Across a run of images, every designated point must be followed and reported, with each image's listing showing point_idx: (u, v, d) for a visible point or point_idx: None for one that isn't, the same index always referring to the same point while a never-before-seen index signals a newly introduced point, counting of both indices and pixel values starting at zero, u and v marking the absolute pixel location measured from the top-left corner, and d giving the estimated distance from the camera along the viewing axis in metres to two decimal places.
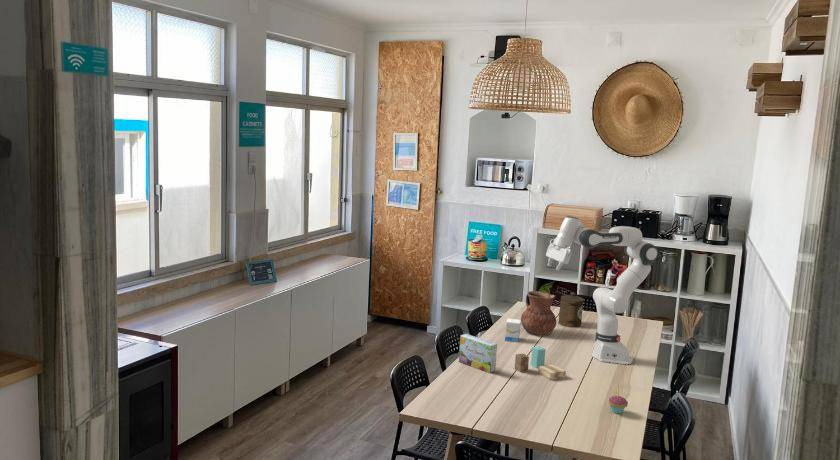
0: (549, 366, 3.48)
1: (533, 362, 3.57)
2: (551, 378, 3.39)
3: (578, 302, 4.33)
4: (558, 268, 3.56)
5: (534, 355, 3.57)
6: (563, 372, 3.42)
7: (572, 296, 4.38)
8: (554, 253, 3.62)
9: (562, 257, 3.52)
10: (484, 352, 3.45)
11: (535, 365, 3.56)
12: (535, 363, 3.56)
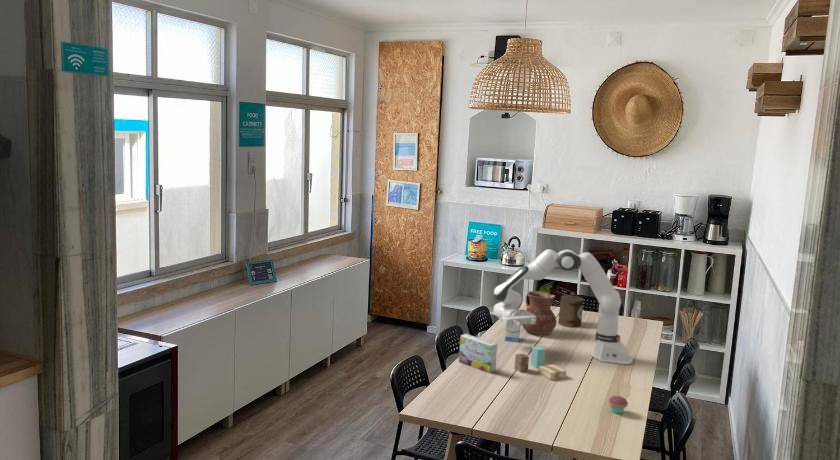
0: (549, 366, 3.48)
1: (533, 362, 3.57)
2: (551, 378, 3.39)
3: (578, 302, 4.33)
4: (517, 323, 3.65)
5: (534, 355, 3.57)
6: (563, 372, 3.42)
7: (572, 296, 4.38)
8: None
9: None
10: (484, 352, 3.45)
11: (535, 365, 3.56)
12: (535, 363, 3.56)
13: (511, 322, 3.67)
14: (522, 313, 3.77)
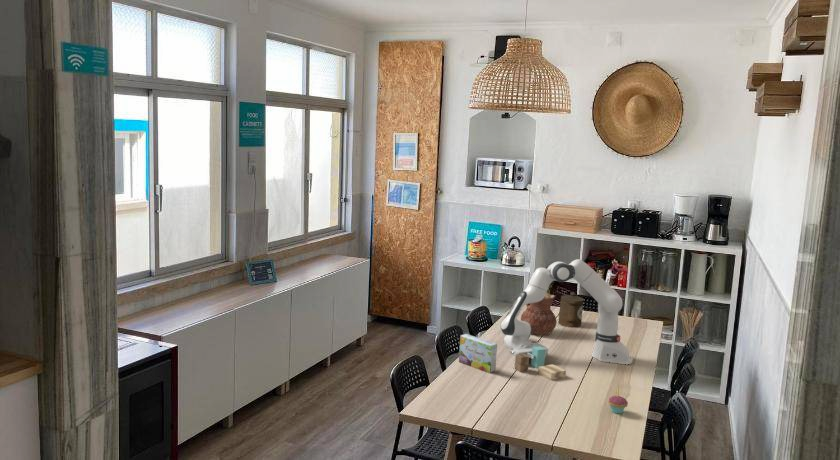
0: (549, 366, 3.48)
1: (533, 362, 3.57)
2: (552, 378, 3.39)
3: (578, 302, 4.33)
4: (532, 356, 3.56)
5: None
6: (563, 372, 3.43)
7: (572, 296, 4.38)
8: None
9: None
10: (484, 352, 3.45)
11: (535, 365, 3.56)
12: (535, 363, 3.56)
13: None
14: (534, 345, 3.68)
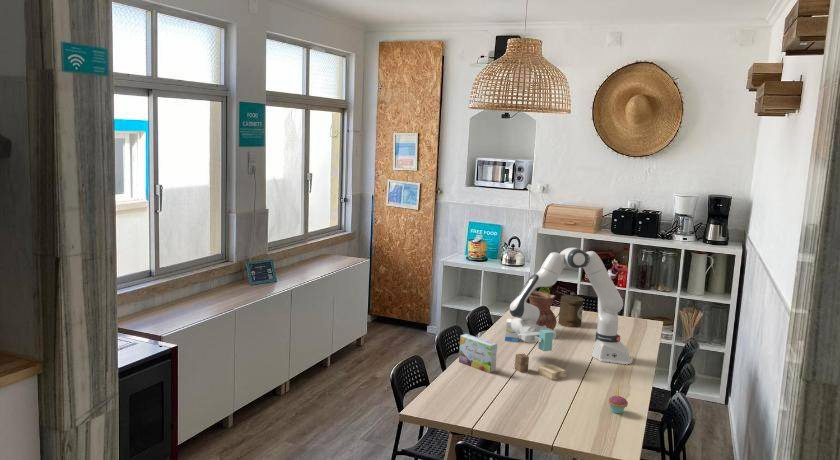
0: (548, 366, 3.48)
1: (541, 345, 3.50)
2: (553, 378, 3.39)
3: (578, 302, 4.33)
4: (539, 340, 3.49)
5: None
6: (563, 372, 3.43)
7: (572, 296, 4.38)
8: None
9: None
10: (484, 352, 3.45)
11: (542, 348, 3.49)
12: (542, 346, 3.49)
13: (530, 338, 3.51)
14: (541, 328, 3.61)
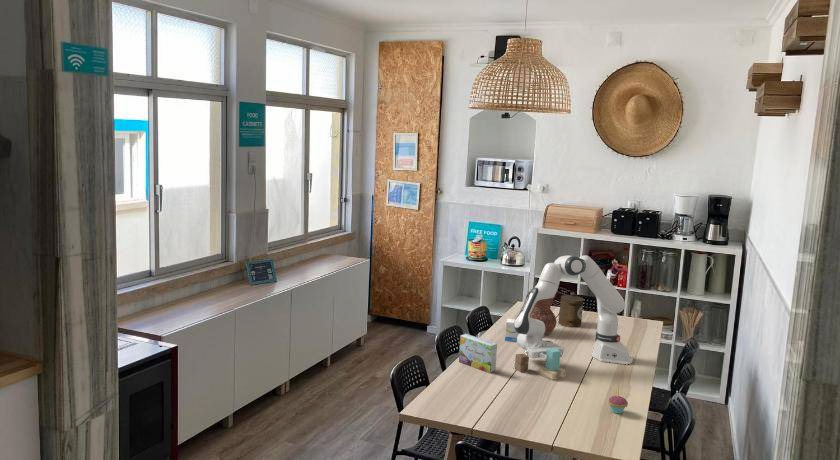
0: None
1: (548, 365, 3.44)
2: (553, 378, 3.39)
3: (578, 302, 4.33)
4: (545, 357, 3.42)
5: (548, 358, 3.43)
6: (563, 372, 3.43)
7: (572, 296, 4.38)
8: None
9: None
10: (484, 352, 3.45)
11: (550, 368, 3.43)
12: (550, 366, 3.43)
13: (537, 355, 3.44)
14: (548, 344, 3.54)
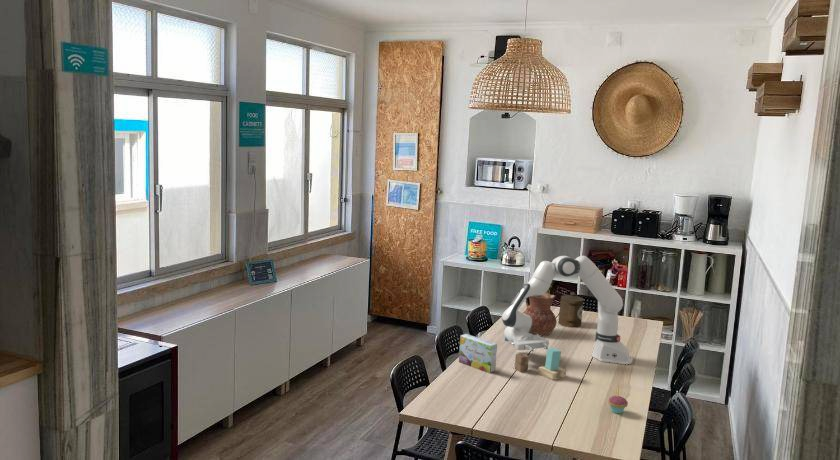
0: None
1: (547, 364, 3.44)
2: (553, 378, 3.39)
3: (578, 302, 4.33)
4: (530, 349, 3.53)
5: (548, 357, 3.44)
6: (564, 372, 3.43)
7: (572, 296, 4.38)
8: None
9: None
10: (484, 352, 3.45)
11: (549, 367, 3.43)
12: (549, 365, 3.43)
13: (523, 347, 3.55)
14: (534, 337, 3.65)
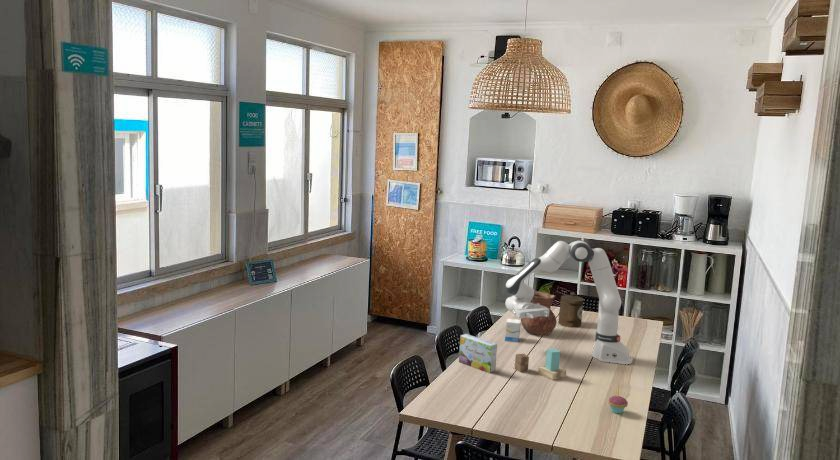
0: None
1: (548, 365, 3.44)
2: (553, 378, 3.39)
3: (578, 302, 4.33)
4: (531, 316, 3.60)
5: (548, 358, 3.43)
6: (564, 371, 3.43)
7: (572, 296, 4.38)
8: None
9: None
10: (484, 352, 3.45)
11: (549, 368, 3.42)
12: (549, 366, 3.42)
13: (524, 315, 3.62)
14: (535, 306, 3.72)
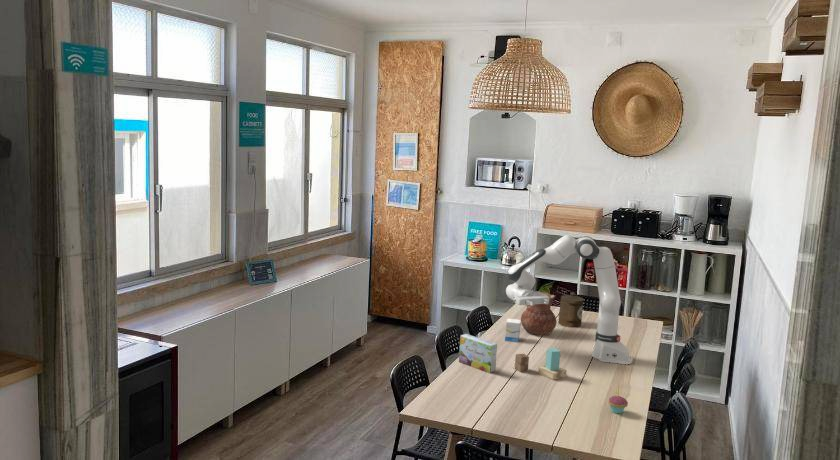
0: None
1: (548, 364, 3.44)
2: (554, 378, 3.40)
3: (578, 302, 4.33)
4: (531, 303, 3.62)
5: (548, 357, 3.44)
6: (564, 371, 3.43)
7: (572, 296, 4.38)
8: None
9: None
10: (484, 352, 3.45)
11: (549, 367, 3.43)
12: (549, 365, 3.43)
13: (524, 302, 3.65)
14: (535, 294, 3.75)
